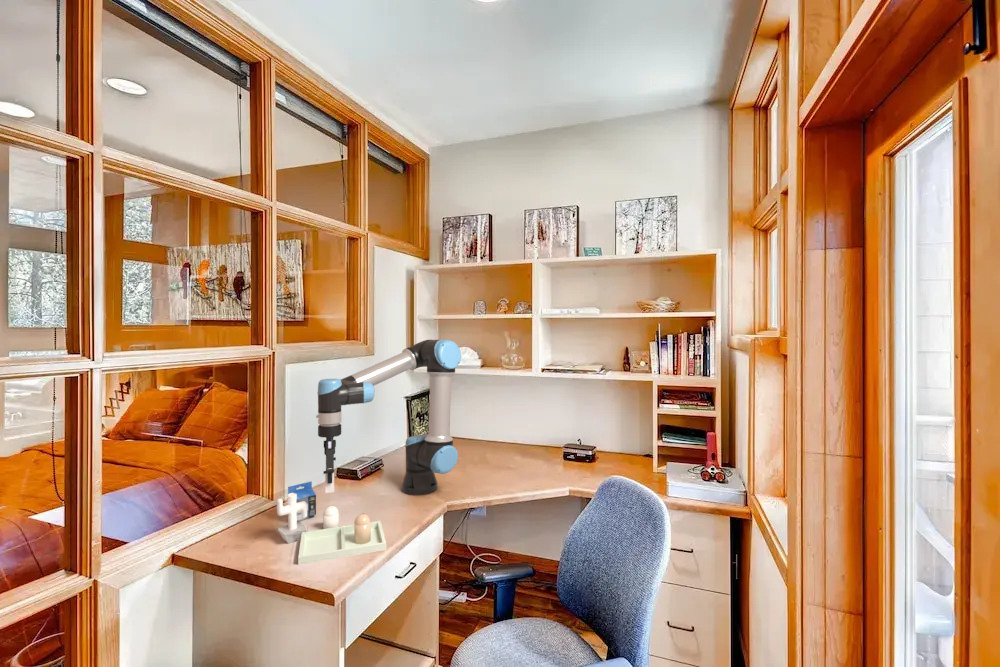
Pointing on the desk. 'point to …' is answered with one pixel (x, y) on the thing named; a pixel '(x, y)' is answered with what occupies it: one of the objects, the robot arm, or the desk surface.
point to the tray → (338, 543)
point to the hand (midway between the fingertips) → (329, 486)
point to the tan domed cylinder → (362, 529)
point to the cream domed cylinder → (331, 517)
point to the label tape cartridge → (305, 499)
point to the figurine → (292, 518)
